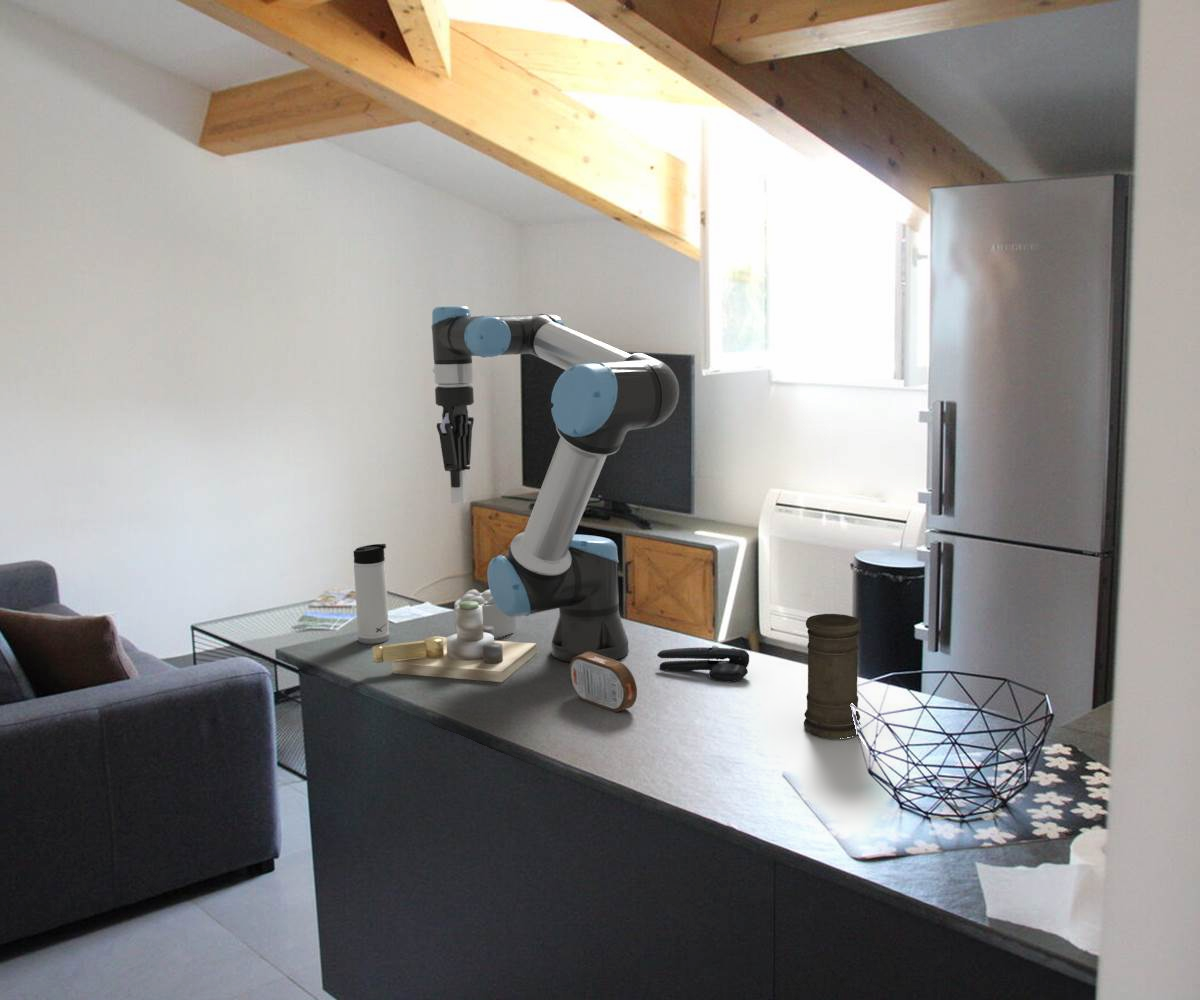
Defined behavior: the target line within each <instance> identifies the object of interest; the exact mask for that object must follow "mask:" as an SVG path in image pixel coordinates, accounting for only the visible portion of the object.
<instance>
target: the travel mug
mask: <svg viewBox="0 0 1200 1000" xmlns="http://www.w3.org/2000/svg"><path fill="white" fill-rule="evenodd" d="M386 548H387V545H386V543H377V544H375V543H374V544H368V545H363V546H359V547H357V548H355V549H354V550H353V568H354V569H353V571H354V587H355V588H354V589H355V603H356V604H355V608H356V621H357V633H358V634H357V640H358V642H359V643H361V644H365V645H366V644H367V645H375V644H382V643H385V642H388V640H390V631H389V630H390V623H389V610H388V609H389V608H388V605H389V604H388V592H387V591H388V590H387V588H388V587H387V573H386V572H387V571H386V570H387V569H386V558H385V549H386Z"/></svg>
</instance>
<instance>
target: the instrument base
mask: <svg viewBox="0 0 1200 1000" xmlns="http://www.w3.org/2000/svg"><path fill="white" fill-rule="evenodd" d="M456 626H457V634H456V633H454V634H451V635H449V636H440V637H441V638H443V648H444V655H443V656H441V657H437V658H428V657H419V658H411V659H403V660H395V661H392V664H391V665H392V666H391V667H392V674H396V675H397V674H399V675H409V676H412V675H413V676H421V677H422V676H424V677H435V678H447V679H459V680H469V681H470V680H471V681H483V682H484V681H485V682H496V683H503V682H505V681H506V679H508V678H509V677H510V676H512V674H514V673H515V672H516V671H517V670H518V669H520V668H522V666H524V665H525V664H526V663H527V662H529V660H530V659H532V658H533V657H534V656H535V655H537V654H538V651H537V650H538V649H537V646H538V645H537V643H535V642H520V641H509V640H507V641H506V640H495V639H494V627H492V626H483V614H482V606H481V605H478V602H475V601H465V602H461V603H460V604H459V606H458V607H456ZM433 637H439V636H435V635H434V636H433Z"/></svg>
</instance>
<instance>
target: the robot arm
mask: <svg viewBox="0 0 1200 1000" xmlns="http://www.w3.org/2000/svg"><path fill="white" fill-rule="evenodd" d="M431 315H432V317H431V318H432V319H431V323H432V324H431V333H432V334H431V335H432V336H431V337H432V350H433V351H432V352H433V363H434V366H433V369H432V372H433V373H434V383H435V384H436V385H438V386H436V387H435V388H434V395H435V396H434V397H435V404H436V406H440V407H442V414H441V419H442V421H441V422H437V423H436V430H437V432H438V435H439V441H440V448H441V455H442V462H443V468H444V471H445V472H449V480H450V501H451V502H450V503H451V504H466V503H467V483H466V482H467V481H466V479H467V478H466V477H467V476H466V470H470V469H471V466H470V465H471V457H472V455H471V454H472V437H473V426H474V421H475V420H474V417H472V416H469V411H468V406H472V405H473V404H474V402H475V401H474V399H475V398H474V387H473V386H472V385H471V384H472V383H473V382H474V374H473V373H474V372H473V370H474V369H473V357H480V358H492V357H498V356H510V355H528V354H529V355H533V356H535V357H537V358H539V359H541V360H544V361H546V362H548V363H550V364H552V365H553V366H554V365H555V366H556V367H559V368H560V369H562V370H564V371H563V373H561V374H560V376H559V377H558V379H557V380H556V382H555V384H554V387H553V389H552V392H551V398H550V399H551V401H550V404H553V405H552V408H551V411H550V412H551V415H552V418H553V422H554V424H555V429H556V432H557V434H558V435H559V440H558V443H557V445H556V448H555V450H554V453H553V455H552V459H551V462H550V463H549V467H548V469H547V471H546V474H545V476H544V480H543V482H542V485H541V488H540V490H539V492H538V495H537V498H536V500H535V503H534V505H533V509H532V511H531V514H530V516H529V519H528V522H527V524H526V526H525V528H524V531H523V532H520V533H518V534H516V535H515V536H514V537H513V538H512V540H511V542H510V544H509V548H508V550H507V553H506V554H504V555H502V554H499V555H497V556H495V557H493V558H492V559H491V560H490V562H488V563H489V564H488V566H487V572H486V573H487V583H488V588H489V589H490V592H491V595H492V598H493V600H494V602H495V604H496V605H497V607H498V608H499V609H500V610H501V611H502V612H503V613H504V614H505V615H507V616H510V617H517V618H518V617H529V616H531V615H535V614H539V613H542V612H547V611H551V610H552V611H553V610H556V609H558V619H557V622H556V626H555V628H554V631H553V635H552V639H551V643H550V645H551V647H550V648H551V651H550V652H551V655H552V657H554V658H555V659H557V660H560V661H562V662H568V663H571V661H572V659H573V658H575V657H576V656H578V655H581V654H583V653H585V652H593V653H596V654H598V655H601V656H604V657H607V658H610V659H613V660H616V661H618V660H619V659H622V658H624V657H626V656H627V655H628V653H629V652H630V651H629V648H630V646H629V639H628V635H627V633H626V630H625V626H624V623H623V621H622V618H621V615H620V610H619V609H620V605H619V599H620V598H619V563H620V561H619V556H618V546H617V544H616V543H615V541H614V540H612V539H610V538H607V537H603V536H597V535H589V534H576V532H577V529H578V526H579V525H580V522H581V520H582V517H583V515H584V512H585V510H586V508H587V505H588V502H589V500H590V497H591V495H592V492H593V490H594V488H595V485H596V483H597V481H598V478H599V476H600V473H601V471H602V469H603V466H604V463H605V462H606V459H607V458H608V457H607V456H611V455H613V454H616V453H617V452H618V451H619V450H620V448H621V447H622V444H623V442H624V440H625V437H626V435H627V432H629V431H633V430H642V429H648V428H652V427H656V426H658V425H660V424H662V423H664V422H665V421H666V420H667V419H668V418H670V416H672V414H673V412H674V410H676V407H677V405H678V403H679V397H680V387H679V386H680V385H679V381H678V379H677V377H676V374H675V373H674V371H673V370H672V369H671V368H670V366H669V365H667V364H666V363H664V362H663V361H661V360H659V359H657V358H654V357H652V356H650V355H647V354H645V353H641V352H639V353H638V352H637V353H632V354H630V353H628V352H625V351H623V350H620V349H618V348H616V347H613V346H611V345H609V344H608V343H607V344H606V343H604V342H602V341H599V340H597V339H594V338H592V337H590V336H588V335H586V334H583V333H581V332H578V331H576V330H573V329H571V328H569V327H566V325H565V322H564V321H562V318H561V317H560V316H558V315H556V314H548V313H547V314H546V313H539V314H523V315H522V314H521V315H520V314H518V315H515V314H514V315H480V316H479V315H478V316H475V315H474V316H472V315H471V310H470V308H469V307H468V306H466V305H465V306H464V305H463V306H462V305H461V306H459V305H458V306H457V305H456V306H455V305H454V306H436V307H434V308H433V309H432V314H431Z"/></svg>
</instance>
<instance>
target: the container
mask: <svg viewBox="0 0 1200 1000" xmlns="http://www.w3.org/2000/svg"><path fill="white" fill-rule="evenodd" d="M805 626H806V628H807V631H806V632H807V635H808V643H807V645H806V647H807V693H806V709H805V712H804V714H803V715H804V717H805V719H804V721H803V727H804V730H805V732H806V733H808V734H809V735H811V736H814V737H817V738H821V739H825V738H826V740H834V739H840V738H841V740H843V739H842V738H847V737H852V736H855V737H857V736H858V735H856V729H855V725H854V721H853V717H852V710H851V707H850V704H851V703H853V704H854V705H855V706H856V707H858V708H859V706H858V705H859V704H858V703H859V695H858V667H859V666H858V664H859V661H858V660H859V659H858V655H859V654H858V651H859V645H858V638H859V635H860V632H859V630H860V628H861V626H862V624H861V621H860V619H859V618H857V617H854V616H851V615H849V614H848V615H847V614H840V613H822V614H821V613H820V614H815V615H812V616H809V617H807V619H806V620H805ZM856 716H857V720H858V721H859V724H860V725H861V722H860V719H861V716H860V712H859V711H856ZM861 726H862V725H861ZM852 738H853V737H852Z"/></svg>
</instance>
